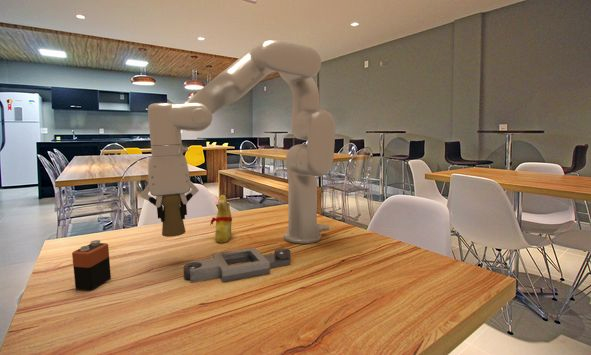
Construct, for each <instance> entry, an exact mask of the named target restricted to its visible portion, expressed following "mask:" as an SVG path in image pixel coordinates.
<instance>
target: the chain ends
mask: <svg viewBox="0 0 591 355" xmlns="http://www.w3.org/2000/svg"><path fill="white" fill-rule="evenodd" d="M290 265H291V250H290V249H289V248H284V247H283V248H276V249H275V250H274V251H273V253H268V254H263V253H261V252H260V251H259V250H258V249H257V248H256V247H250V248H249V247H248V248H243V249H236V250H230V251H223V252H217V253H212V257H210V258H205V259H197V260H191V261H186V264H184V265H183V279H184V281H187V282H190V283H191V284H192V283H198V282H202V281H207V280H208V281H209V280H214V279H220V280H221V282H222V283H227V282H233V281H238V280H242V279H243V280H244V279H249V278H254V277H259V276H264V275H269V274H270V269H273V268H274V269H275V268H279V267H285V266H290Z"/></svg>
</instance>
